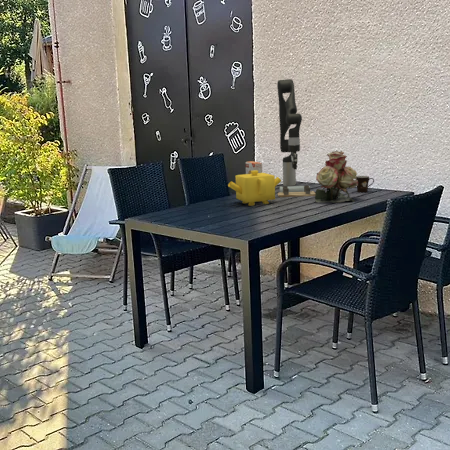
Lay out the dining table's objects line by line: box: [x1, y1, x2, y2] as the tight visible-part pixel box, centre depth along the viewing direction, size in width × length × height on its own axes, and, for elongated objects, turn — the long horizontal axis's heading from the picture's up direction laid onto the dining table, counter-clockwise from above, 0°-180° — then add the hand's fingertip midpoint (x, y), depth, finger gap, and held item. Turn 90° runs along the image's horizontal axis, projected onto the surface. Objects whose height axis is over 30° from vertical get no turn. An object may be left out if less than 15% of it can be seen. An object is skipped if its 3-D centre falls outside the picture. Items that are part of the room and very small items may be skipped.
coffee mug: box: [355, 175, 375, 194], centre depth 384 cm, size 12×9×10 cm
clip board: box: [277, 185, 316, 198], centre depth 383 cm, size 11×24×5 cm, turn 89°
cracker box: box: [244, 160, 263, 174], centre depth 399 cm, size 14×6×21 cm, turn 25°
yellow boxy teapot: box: [227, 170, 282, 206], centre depth 361 cm, size 35×29×20 cm
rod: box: [279, 185, 311, 193], centre depth 395 cm, size 20×4×4 cm, turn 89°
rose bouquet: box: [314, 150, 358, 204], centre depth 359 cm, size 26×29×30 cm
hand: (294, 168), depth 392 cm, fingers open, 8 cm apart
